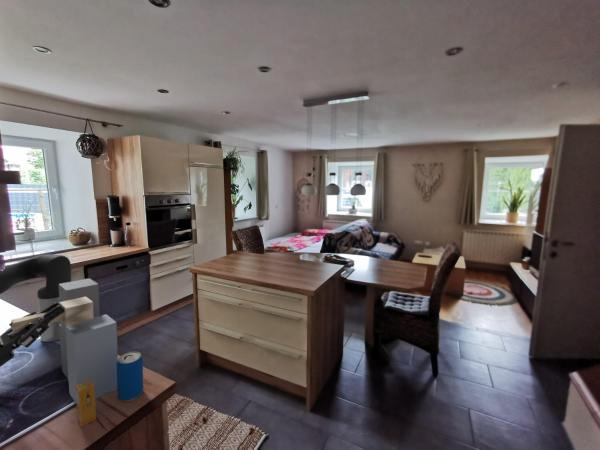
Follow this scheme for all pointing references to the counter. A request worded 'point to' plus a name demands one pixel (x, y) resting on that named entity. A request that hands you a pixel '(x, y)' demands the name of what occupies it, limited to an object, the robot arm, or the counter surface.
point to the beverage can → (129, 376)
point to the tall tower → (73, 292)
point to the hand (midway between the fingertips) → (60, 306)
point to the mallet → (72, 313)
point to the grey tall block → (92, 354)
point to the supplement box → (85, 402)
